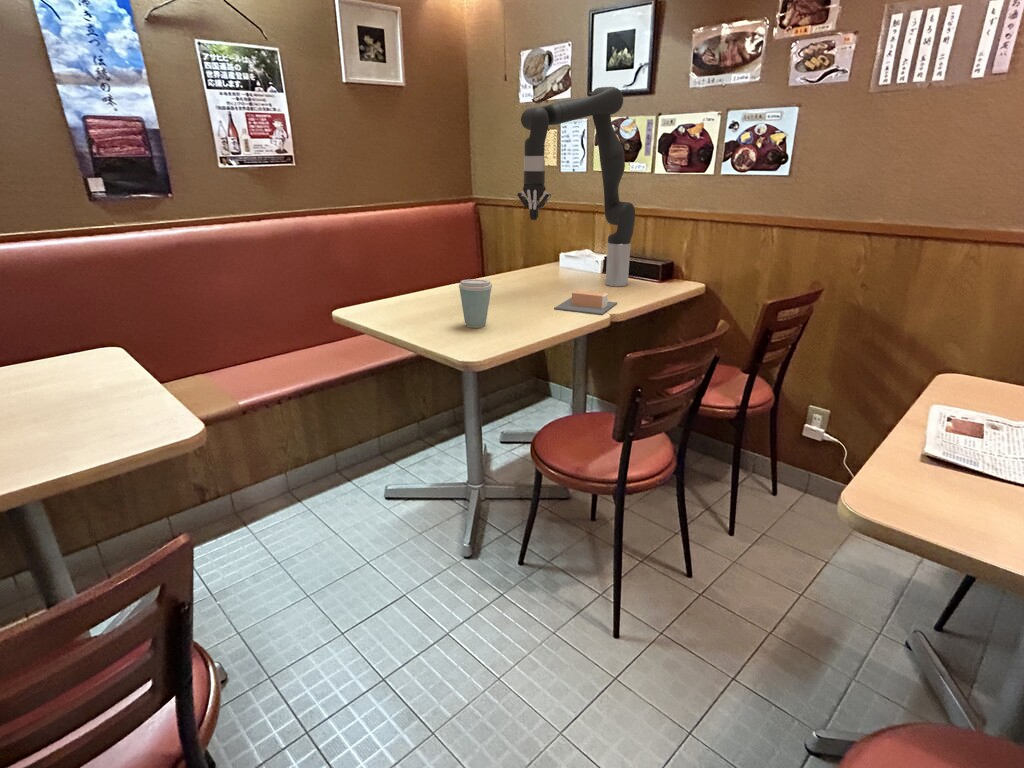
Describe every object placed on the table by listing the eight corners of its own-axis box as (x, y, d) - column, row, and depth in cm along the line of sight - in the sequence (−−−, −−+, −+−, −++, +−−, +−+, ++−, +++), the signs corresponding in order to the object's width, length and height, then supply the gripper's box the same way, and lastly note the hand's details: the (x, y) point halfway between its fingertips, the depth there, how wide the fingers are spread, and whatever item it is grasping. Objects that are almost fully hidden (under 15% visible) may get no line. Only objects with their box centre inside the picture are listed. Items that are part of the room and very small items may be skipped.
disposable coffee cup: (459, 321, 196) (458, 276, 190) (492, 320, 197) (491, 275, 191) (460, 330, 186) (458, 283, 181) (494, 329, 187) (493, 283, 182)
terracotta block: (576, 290, 215) (607, 293, 210) (576, 302, 217) (607, 305, 212) (571, 292, 211) (603, 296, 206) (571, 305, 213) (603, 308, 208)
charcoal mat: (571, 298, 224) (571, 297, 224) (617, 304, 216) (617, 302, 216) (554, 309, 210) (554, 307, 210) (602, 315, 202) (602, 313, 202)
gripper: (555, 169, 209) (554, 219, 215) (522, 169, 214) (522, 218, 221) (547, 170, 203) (546, 222, 209) (512, 169, 208) (513, 220, 215)
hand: (533, 219), depth 215 cm, fingers closed
